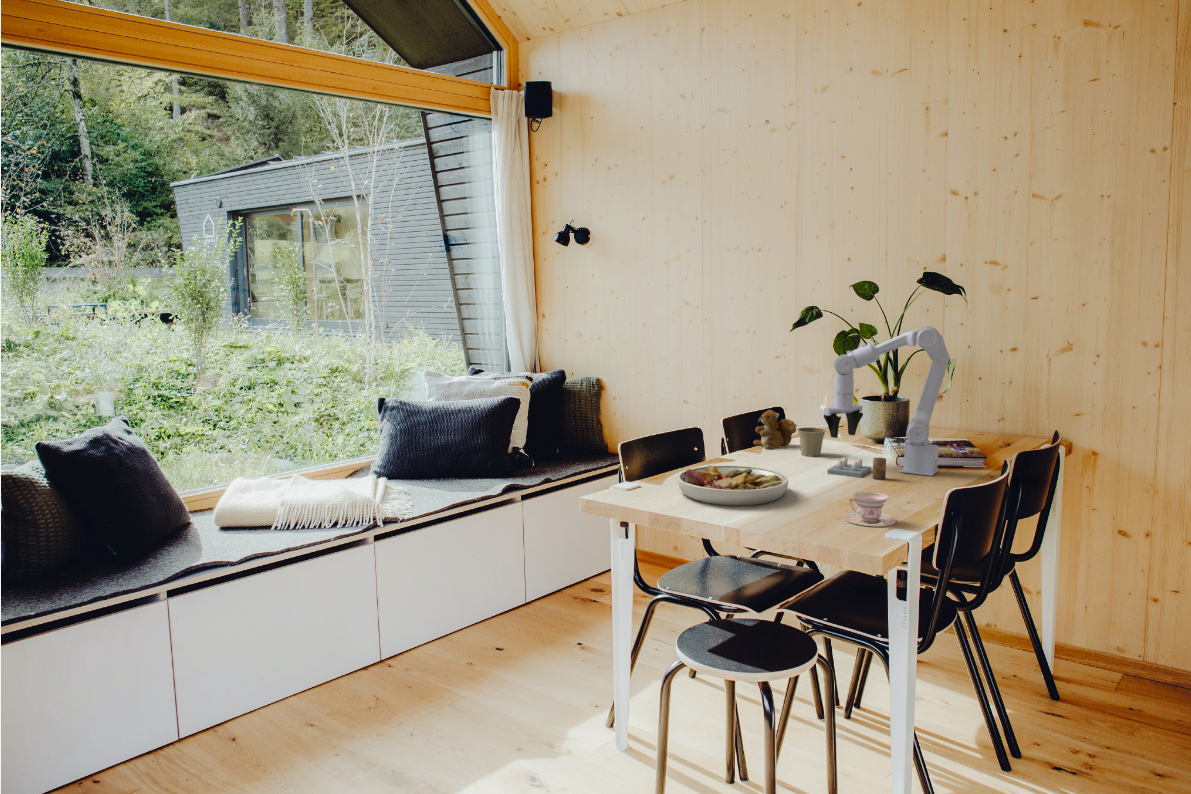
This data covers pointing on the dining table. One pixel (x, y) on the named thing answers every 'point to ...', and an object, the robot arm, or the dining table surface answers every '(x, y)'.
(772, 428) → the stuffed squirrel
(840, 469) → the peg pad
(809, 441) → the flower pot
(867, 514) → the teacup
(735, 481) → the bowl
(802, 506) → the dining table surface
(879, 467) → the walnut pin
